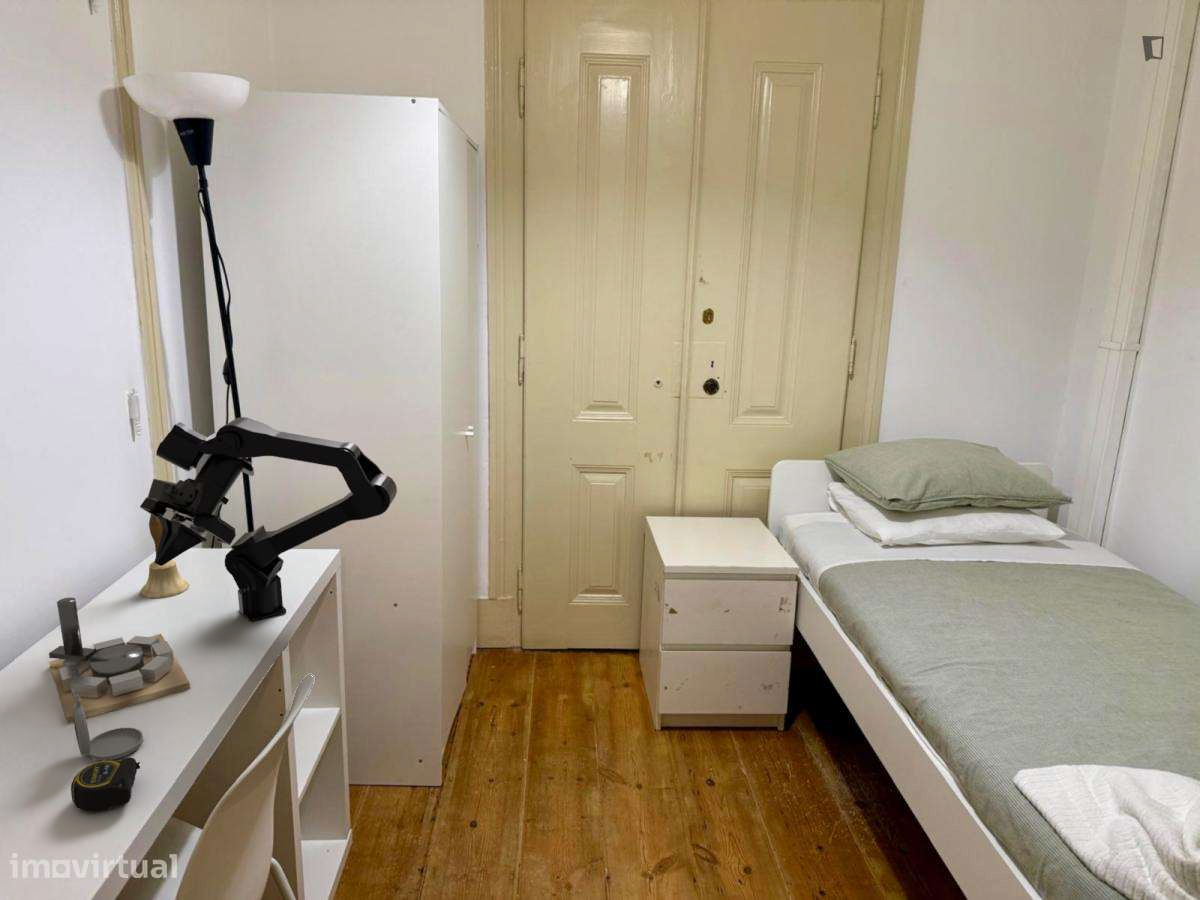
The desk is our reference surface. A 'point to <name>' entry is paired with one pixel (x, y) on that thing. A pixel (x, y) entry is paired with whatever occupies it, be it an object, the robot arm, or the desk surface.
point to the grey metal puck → (116, 661)
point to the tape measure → (104, 784)
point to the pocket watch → (103, 737)
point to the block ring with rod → (81, 656)
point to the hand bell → (162, 571)
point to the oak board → (108, 702)
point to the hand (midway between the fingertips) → (157, 564)
